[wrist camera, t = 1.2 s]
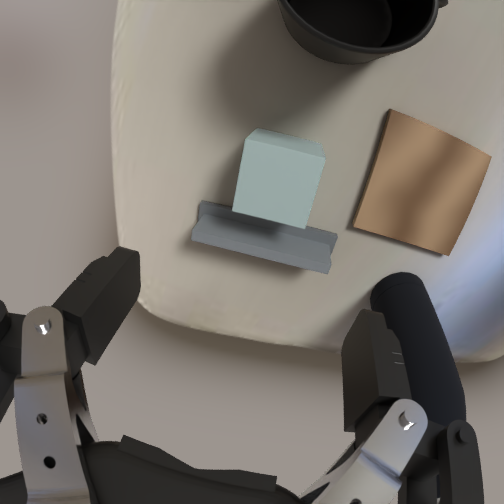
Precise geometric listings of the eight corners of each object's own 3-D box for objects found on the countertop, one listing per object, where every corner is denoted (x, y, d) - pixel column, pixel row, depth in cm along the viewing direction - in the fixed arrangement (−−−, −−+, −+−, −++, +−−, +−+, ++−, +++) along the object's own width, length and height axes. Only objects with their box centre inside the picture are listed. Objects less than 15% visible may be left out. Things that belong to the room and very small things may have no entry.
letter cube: (321, 143, 24) (325, 158, 19) (304, 203, 27) (303, 231, 22) (257, 127, 24) (245, 138, 20) (244, 189, 27) (231, 213, 23)
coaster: (487, 154, 21) (491, 156, 20) (446, 252, 27) (448, 256, 26) (389, 108, 21) (392, 109, 21) (352, 222, 27) (353, 226, 26)
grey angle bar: (337, 234, 28) (341, 256, 25) (327, 260, 30) (329, 284, 26) (202, 200, 28) (187, 218, 25) (198, 228, 30) (184, 248, 27)
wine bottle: (382, 266, 29) (428, 605, 4) (433, 277, 28) (507, 568, 3) (361, 312, 32) (370, 602, 7) (409, 321, 32) (445, 582, 7)
